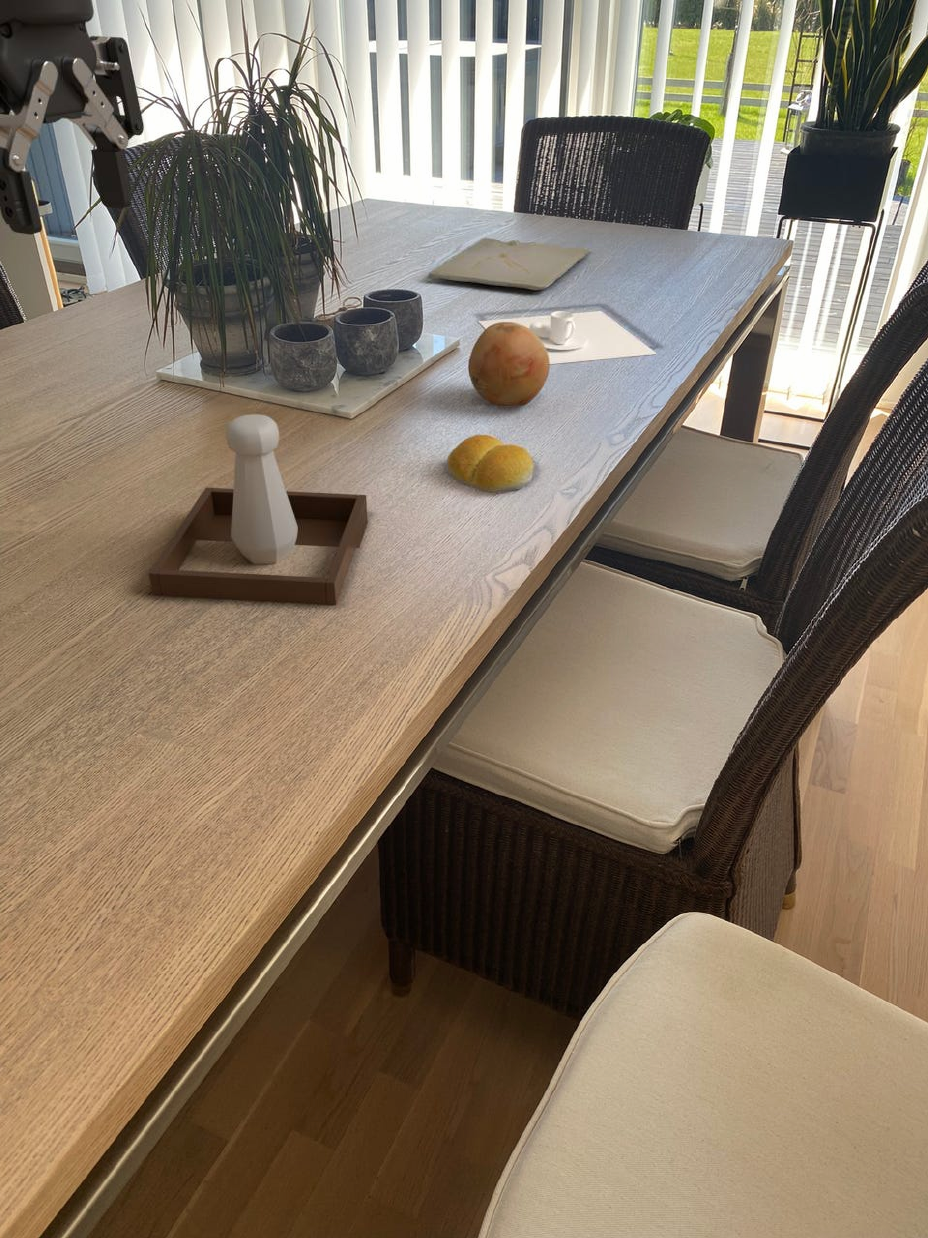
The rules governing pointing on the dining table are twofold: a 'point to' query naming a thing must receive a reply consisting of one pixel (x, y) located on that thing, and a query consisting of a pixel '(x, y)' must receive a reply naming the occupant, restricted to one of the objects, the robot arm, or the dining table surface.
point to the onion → (508, 364)
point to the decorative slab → (510, 264)
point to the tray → (211, 520)
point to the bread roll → (490, 464)
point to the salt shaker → (259, 492)
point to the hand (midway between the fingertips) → (73, 218)
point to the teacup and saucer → (580, 336)
